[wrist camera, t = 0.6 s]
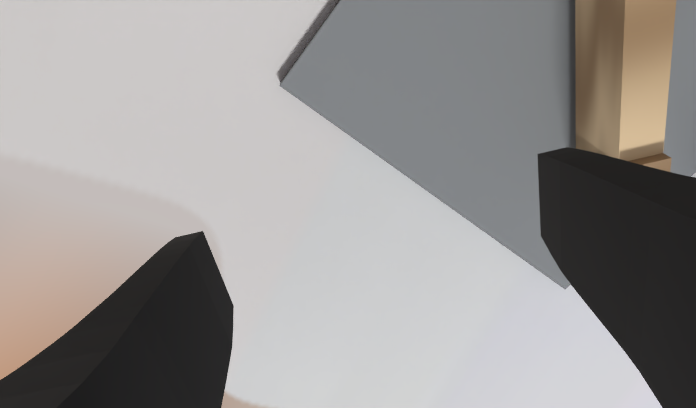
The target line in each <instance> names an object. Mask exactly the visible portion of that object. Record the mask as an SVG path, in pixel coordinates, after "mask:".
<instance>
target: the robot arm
mask: <svg viewBox="0 0 696 408" xmlns="http://www.w3.org/2000/svg"><path fill="white" fill-rule="evenodd" d="M538 179H539V204H540V229H541V237H542V239H543V241H544V243H545V244H546V246H547V248H548V250H549V252H550V253H551V255H552V257H553V259H554V260H555V262H556V264H557V265H558V267H559V269H560V270H561V272H562V273H563V275H564V276H565V277H566V278H567V280H568V281H569V282H570V284H571V285H572V286H573V287H574V289H575V290H576V291H577V292H578V294H579V295H580V296H581V298H582V299H583V300H584V301H585V303H586V304H587V305H588V306H589V308H590V309H591V310H592V311H593V312H594V314H595V315H596V316H597V317H598V319H599V320H600V321H601V322H602V324H603V325H604V326H605V327H606V329H607V330H608V331H609V332H610V334H611V335H612V336H613V337H614V339H615V340H616V341H617V342H618V344H619V345H620V346H621V347H622V348H623V350H624V351H625V352H626V354H627V355H628V356H629V358H630V359H631V360H632V362H633V363H634V365H635V366H636V367H637V369H638V370H639V371H640V373H641V375H642V376H643V378H644V379H645V381H646V382H647V384H648V385H649V387H650V389H651V390H652V392H653V393H654V395H655V396H656V398H657V400H658V401H659V403H660V404H661V406H662V407H663V408H696V178H694V177H689V176H685V175H680V174H676V173H672V172H668V171H664V170H660V169H656V168H652V167H648V166H644V165H640V164H636V163H633V162H629V161H625V160H621V159H618V158H614V157H610V156H606V155H602V154H598V153H594V152H590V151H586V150H581V149H576V148H568V147H566V148H561V149H557V150H553V151H548V152H544V153H540V154H538ZM232 337H233V304H232V301H231V299H230V296H229V294H228V291H227V289H226V287H225V284H224V282H223V279H222V277H221V274H220V272H219V269H218V267H217V265H216V262H215V260H214V257H213V255H212V252H211V250H210V247H209V245H208V243H207V240H206V238H205V235H204V233H203V231H201V232H197V233H193V234H189V235H184V236H180V237H175V238H174V239H173V240H171V241H170V242H168V243H167V244H166V245H165V246H164V247H162V248H161V249H160V250H159V251H158V252H157V253H156V254H154V255H153V256H152V257H151V258H150V259H149V260H148V261H147V262H146V263H145V264H144V265H142V266H141V267H140V268H139V269H138V270H137V271H136V272H135V273H134V274H133V275H132V276H131V277H130V278H129V279H127V280H126V282H124V283H123V284H122V285H121V286H120V287H119V288H118V289H117V290H116V291H115V292H114V293H112V294H111V295H110V296H109V297H108V298H107V299H105V300H104V301H103V302H102V303H101V304H100V305H99V306H97V307H96V308H95V309H94V310H93V311H92V312H90V313H89V314H88V315H87V316H86V317H85V318H83V319H82V320H81V321H80V322H79V323H78V324H77V325H76V326H74V327H73V328H72V329H70V330H69V331H68V332H67V333H65V334H64V335H63V336H62V337H60V338H59V339H58V340H57V341H55V342H54V343H53V344H51V345H50V346H49V347H47V348H46V349H45V350H43V351H42V352H40V353H39V354H38V355H36V356H35V357H34V358H32V359H31V360H29V361H28V362H27V363H25V364H24V365H22V366H21V367H20V368H18V369H17V370H15V371H14V372H12V373H11V374H9V375H8V376H6V377H4V378H3V379H1V380H0V408H221V405H222V399H223V395H224V389H225V384H226V378H227V373H228V367H229V362H230V356H231V350H232Z"/></svg>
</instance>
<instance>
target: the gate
mask: <svg viewBox="0 0 696 408" xmlns="http://www.w3.org/2000/svg"><path fill="white" fill-rule="evenodd" d="M675 10H676V0H575V44H576V149H581V150H586V151H590V152H594V153H598V154H602V155H606V156H610V157H614V158H618V159H621V160H625V161H629V162H633V163H636V164H640V165H644V166H648V167H652V168H656V169H660V170H664V171H668V172H670V170H671V159H672V158H671V157H669V156H667V155H666V154H664V153H663V151H664V139H665V128H666V116H667V104H668V92H669V81H670V69H671V57H672V46H673V34H674V22H675Z"/></svg>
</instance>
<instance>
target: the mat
mask: <svg viewBox="0 0 696 408" xmlns="http://www.w3.org/2000/svg"><path fill="white" fill-rule="evenodd" d="M280 86H281V87H282V88H284V89H285V90H286V91H288V92H289V93H291V94H292V95H293V96H295V97H296V98H298V99H299V100H300V101H302V102H303V103H305V104H306V105H307V106H309V107H310V108H312V109H313V110H314V111H316V112H317V113H319V114H320V115H321V116H323V117H324V118H326V119H327V120H328V121H330V122H331V123H333V124H334V125H335V126H337V127H338V128H340V129H341V130H342V131H344V132H345V133H347V134H348V135H350V136H351V137H352V138H354V139H355V140H357V141H358V142H359V143H361V144H362V145H364V146H365V147H366V148H368V149H369V150H371V151H372V152H373V153H375V154H376V155H378V156H379V157H380V158H382V159H383V160H385V161H386V162H387V163H389V164H390V165H392V166H393V167H394V168H396V169H397V170H399V171H400V172H401V173H403V174H404V175H406V176H407V177H408V178H410V179H411V180H413V181H414V182H415V183H417V184H418V185H420V186H421V187H422V188H424V189H425V190H427V191H428V192H429V193H431V194H432V195H434V196H435V197H436V198H438V199H439V200H441V201H442V202H443V203H445V204H446V205H448V206H449V207H450V208H452V209H453V210H455V211H456V212H457V213H459V214H460V215H462V216H463V217H464V218H466V219H467V220H469V221H470V222H471V223H473V224H474V225H476V226H477V227H478V228H480V229H481V230H483V231H484V232H485V233H487V234H488V235H490V236H491V237H492V238H494V239H495V240H497V241H498V242H499V243H501V244H502V245H504V246H505V247H506V248H508V249H509V250H511V251H512V252H513V253H515V254H516V255H518V256H519V257H520V258H522V259H523V260H525V261H526V262H527V263H529V264H530V265H532V266H533V267H534V268H536V269H537V270H539V271H540V272H541V273H543V274H544V275H546V276H547V277H549V278H550V279H551V280H553V281H554V282H556V283H557V284H558V285H560V286H561V287H563V288H564V289H566V288H567V287H568V286H569V285H571V284H570V282H569V281H568V280H567V278H566V277H565V276H564V275H563V273H562V272H561V270H560V269H559V267H558V265H557V264H556V262H555V260H554V259H553V257H552V255H551V253H550V252H549V250H548V248H547V246H546V244H545V243H544V241H543V239H542V237H541V229H540V204H539V179H538V154H540V153H544V152H548V151H553V150H557V149H561V148H566V147H568V148H576V44H575V0H339V2H338V3H337V4H336V6H335V7H334V9H333V10H332V11H331V13H330V14H329V16H328V17H327V19H326V20H325V21H324V23H323V24H322V26H321V27H320V28H319V30H318V31H317V33H316V34H315V35H314V37H313V38H312V40H311V41H310V42H309V44H308V45H307V47H306V48H305V49H304V51H303V52H302V54H301V55H300V56H299V58H298V59H297V61H296V62H295V63H294V65H293V66H292V68H291V69H290V70H289V72H288V73H287V75H286V76H285V77H284V79H283V80H282V82H281V83H280ZM663 153H664V154H666V155H667V156H669V157H671V158H672V159H671V170H670V172H672V173H676V174H680V175H685V176H689V177H691V176H692V175H693V174H694V173H695V172H696V0H676V10H675V22H674V34H673V46H672V57H671V69H670V81H669V92H668V104H667V116H666V128H665V139H664V151H663Z"/></svg>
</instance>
